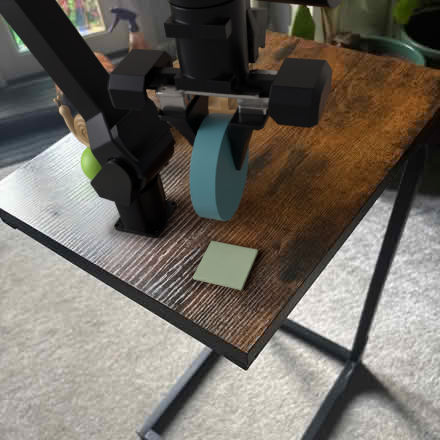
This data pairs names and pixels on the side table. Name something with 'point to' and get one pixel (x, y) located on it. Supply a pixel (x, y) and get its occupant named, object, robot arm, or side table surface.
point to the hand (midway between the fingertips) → (226, 166)
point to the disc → (216, 170)
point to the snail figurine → (80, 140)
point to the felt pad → (226, 265)
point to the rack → (224, 102)
